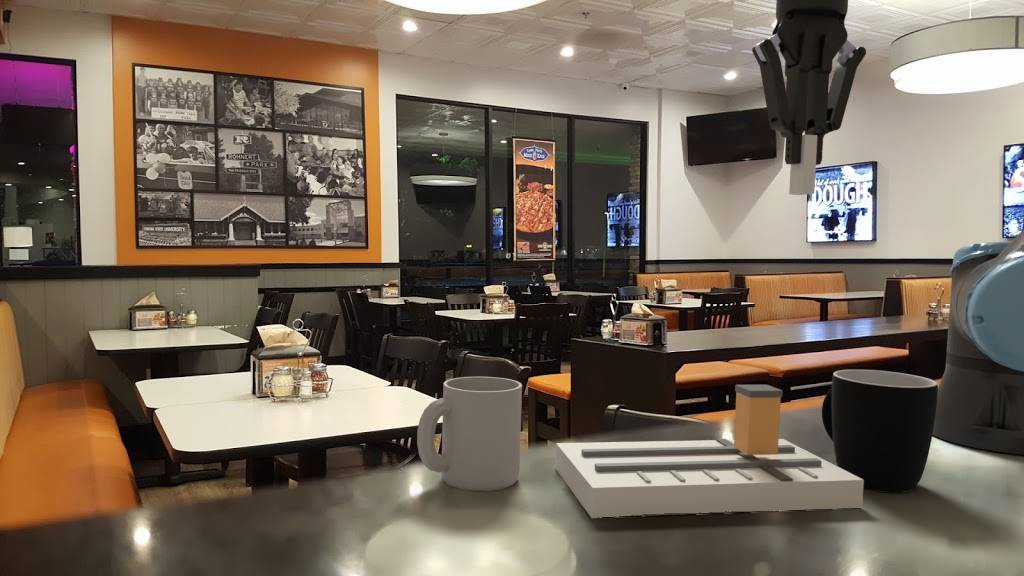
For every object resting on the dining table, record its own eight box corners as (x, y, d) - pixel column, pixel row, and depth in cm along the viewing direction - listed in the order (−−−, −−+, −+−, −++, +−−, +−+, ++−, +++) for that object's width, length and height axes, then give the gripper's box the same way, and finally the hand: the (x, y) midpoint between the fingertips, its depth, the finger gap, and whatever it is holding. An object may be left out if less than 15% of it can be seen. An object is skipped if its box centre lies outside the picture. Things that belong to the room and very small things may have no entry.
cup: (533, 485, 67) (536, 388, 66) (433, 502, 61) (435, 397, 61) (495, 463, 73) (497, 374, 72) (401, 477, 68) (402, 381, 67)
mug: (954, 494, 67) (961, 385, 67) (876, 502, 65) (883, 388, 64) (856, 456, 79) (861, 363, 78) (786, 462, 76) (791, 365, 75)
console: (781, 462, 76) (783, 434, 75) (862, 508, 63) (864, 474, 63) (555, 468, 72) (556, 438, 71) (591, 518, 59) (592, 481, 59)
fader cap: (763, 446, 70) (766, 384, 69) (779, 454, 67) (782, 390, 66) (732, 446, 69) (735, 384, 69) (746, 455, 66) (749, 390, 66)
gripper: (844, -2, 87) (833, 198, 88) (742, -11, 85) (733, 193, 86) (887, -24, 80) (874, 194, 81) (776, -35, 77) (765, 189, 79)
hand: (801, 193), depth 84 cm, fingers closed
